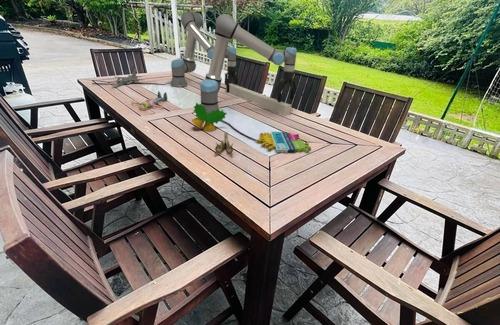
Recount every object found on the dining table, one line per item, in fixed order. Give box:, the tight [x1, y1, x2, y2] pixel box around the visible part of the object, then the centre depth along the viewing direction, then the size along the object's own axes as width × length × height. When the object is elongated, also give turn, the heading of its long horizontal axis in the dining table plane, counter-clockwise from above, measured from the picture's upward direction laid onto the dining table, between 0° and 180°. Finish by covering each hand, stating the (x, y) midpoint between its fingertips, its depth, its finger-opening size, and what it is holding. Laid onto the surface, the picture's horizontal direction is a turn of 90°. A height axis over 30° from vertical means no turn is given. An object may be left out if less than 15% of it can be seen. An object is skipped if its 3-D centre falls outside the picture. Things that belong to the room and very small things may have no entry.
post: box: [225, 82, 292, 116], centre depth 222 cm, size 77×6×7 cm, turn 39°
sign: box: [255, 131, 312, 154], centre depth 152 cm, size 26×2×30 cm
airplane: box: [110, 68, 145, 89], centre depth 248 cm, size 38×31×10 cm
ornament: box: [191, 102, 228, 132], centre depth 162 cm, size 21×8×15 cm, turn 105°
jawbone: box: [214, 131, 234, 156], centre depth 136 cm, size 9×15×10 cm
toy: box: [130, 91, 168, 111], centre depth 196 cm, size 28×7×30 cm
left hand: (230, 91), depth 246 cm, fingers closed on post, 6 cm apart
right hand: (285, 100), depth 196 cm, fingers open, 13 cm apart
